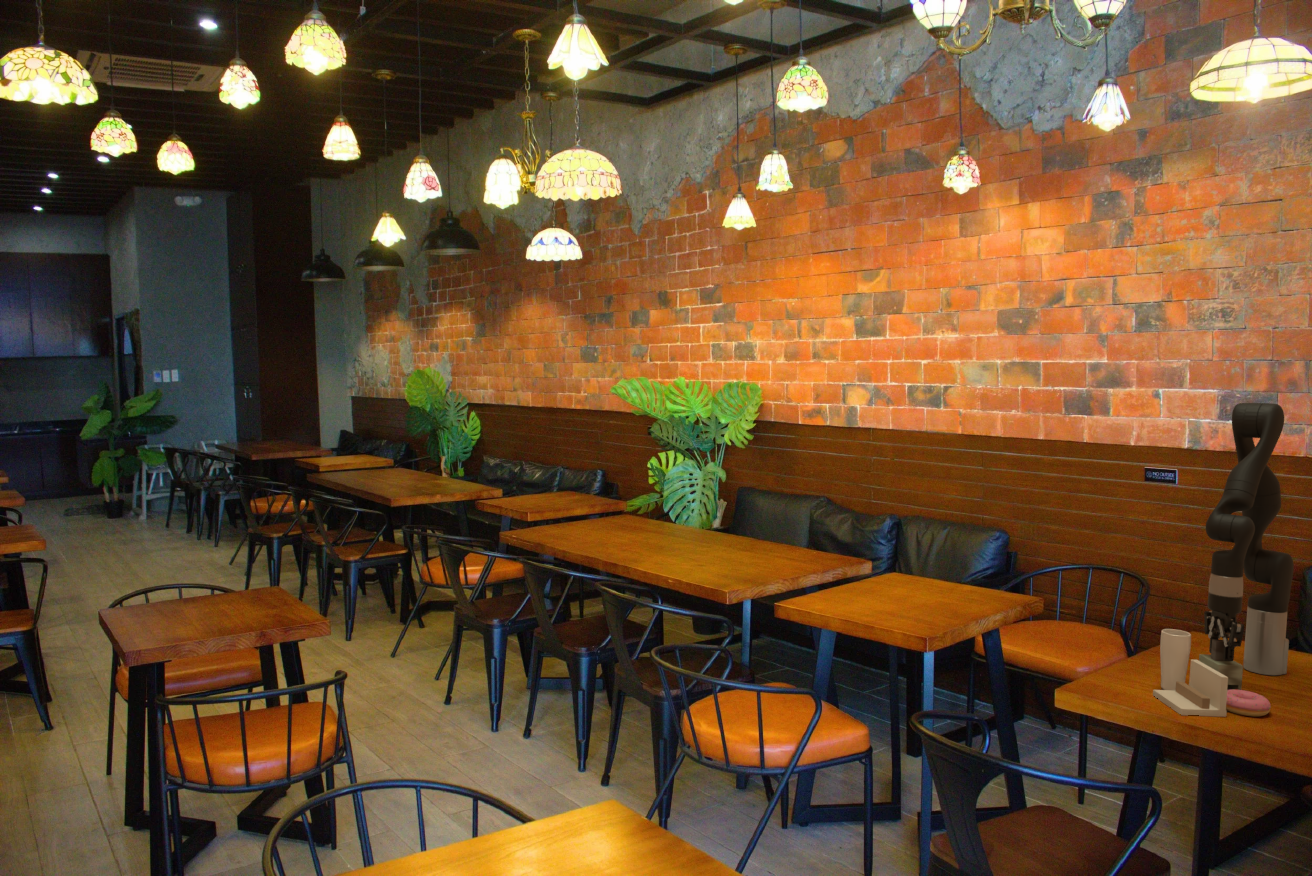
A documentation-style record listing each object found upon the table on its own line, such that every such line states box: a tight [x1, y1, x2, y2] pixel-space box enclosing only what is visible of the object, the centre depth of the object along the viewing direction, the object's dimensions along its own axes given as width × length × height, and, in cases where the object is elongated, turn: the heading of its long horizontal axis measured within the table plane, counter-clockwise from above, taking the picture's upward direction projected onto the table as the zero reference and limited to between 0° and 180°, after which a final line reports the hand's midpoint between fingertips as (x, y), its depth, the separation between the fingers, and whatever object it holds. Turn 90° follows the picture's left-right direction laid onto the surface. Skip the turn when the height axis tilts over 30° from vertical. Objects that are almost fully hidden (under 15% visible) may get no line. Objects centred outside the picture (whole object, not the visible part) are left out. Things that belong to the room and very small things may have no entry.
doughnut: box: [1226, 689, 1272, 717], centre depth 231 cm, size 11×11×4 cm
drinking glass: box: [1159, 628, 1192, 690], centre depth 244 cm, size 7×7×15 cm
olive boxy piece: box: [1198, 639, 1244, 690], centre depth 245 cm, size 6×9×13 cm, turn 179°
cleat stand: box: [1152, 659, 1228, 718], centre depth 233 cm, size 10×14×10 cm
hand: (1221, 656), depth 245 cm, fingers open, 5 cm apart
